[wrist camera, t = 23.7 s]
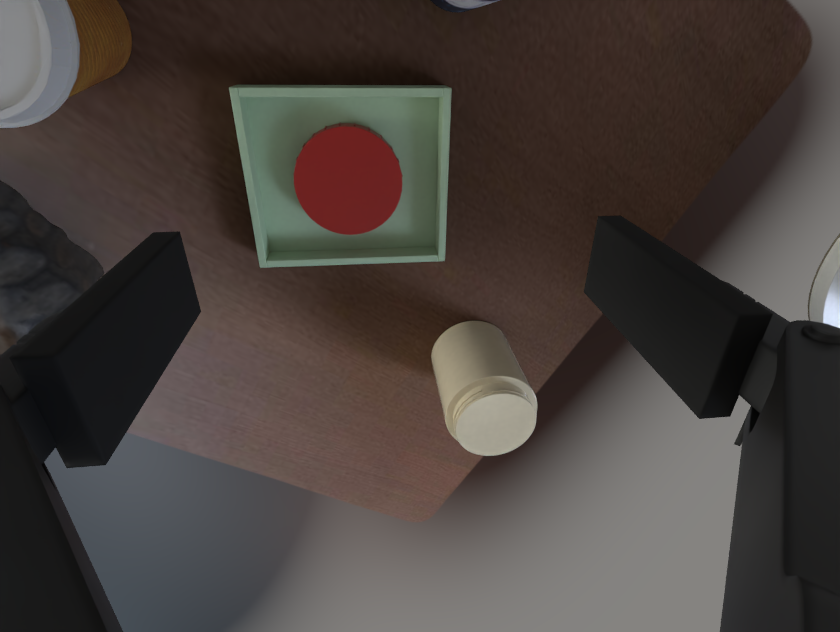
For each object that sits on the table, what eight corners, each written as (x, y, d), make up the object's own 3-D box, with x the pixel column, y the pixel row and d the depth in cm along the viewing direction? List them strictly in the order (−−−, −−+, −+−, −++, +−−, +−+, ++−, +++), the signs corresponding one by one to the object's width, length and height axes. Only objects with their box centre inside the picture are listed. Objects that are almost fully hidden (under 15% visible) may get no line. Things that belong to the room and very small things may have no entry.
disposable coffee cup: (127, -69, 29) (-1, -133, 19) (177, 100, 34) (97, 123, 23) (-36, -61, 28) (-262, -122, 18) (38, 110, 33) (-107, 139, 23)
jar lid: (273, 156, 36) (270, 161, 34) (367, 100, 35) (368, 103, 33) (333, 245, 40) (332, 253, 38) (419, 197, 39) (421, 204, 37)
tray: (445, 85, 35) (451, 87, 33) (440, 250, 42) (445, 261, 40) (236, 84, 34) (228, 87, 32) (264, 256, 40) (259, 268, 38)
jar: (512, 318, 46) (550, 384, 37) (504, 383, 50) (536, 457, 41) (431, 322, 45) (450, 390, 36) (430, 388, 49) (446, 464, 40)
